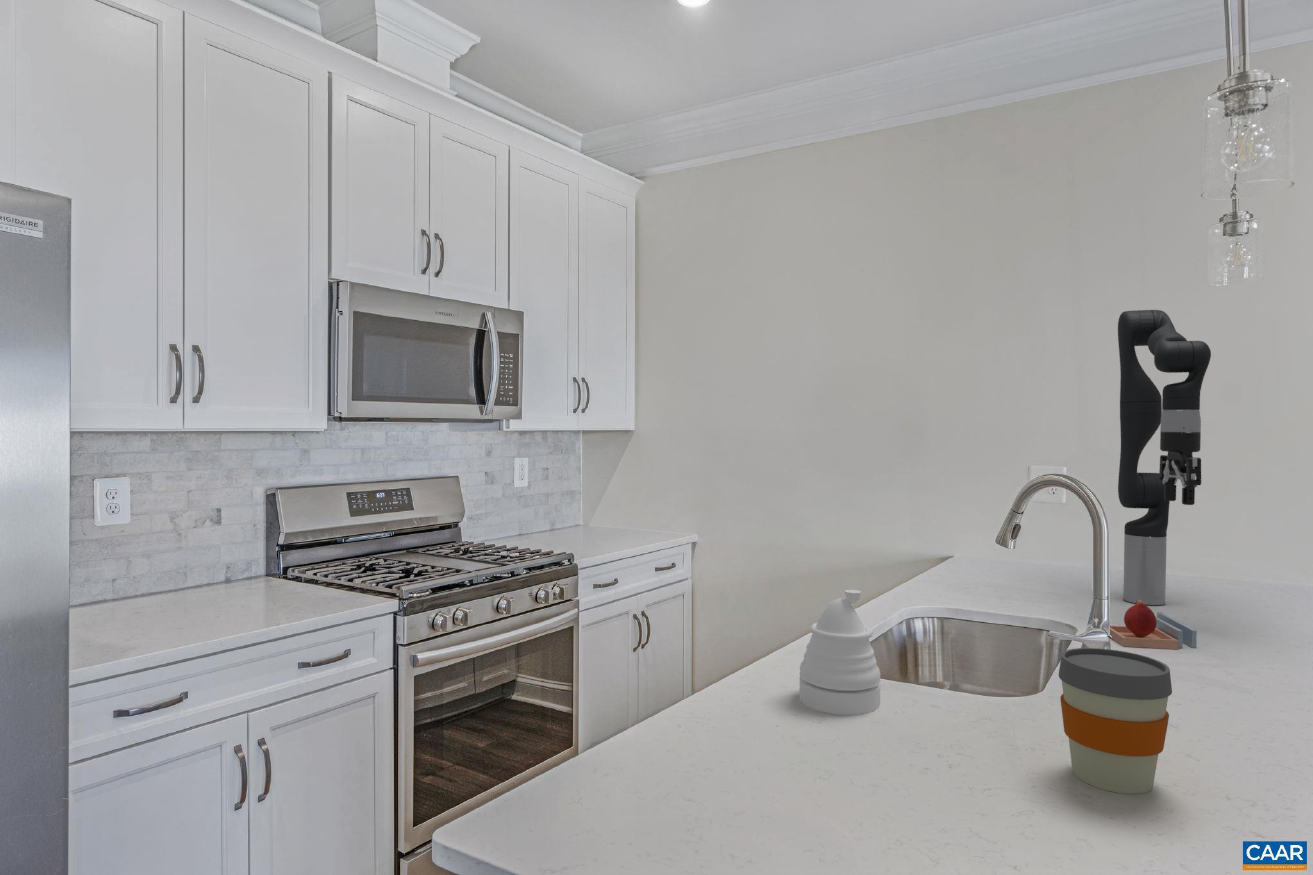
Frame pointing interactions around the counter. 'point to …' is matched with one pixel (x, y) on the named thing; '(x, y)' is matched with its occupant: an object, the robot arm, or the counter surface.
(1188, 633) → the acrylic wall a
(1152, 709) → the reusable coffee cup
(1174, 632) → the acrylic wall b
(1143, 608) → the pomegranate
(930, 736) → the counter surface
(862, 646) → the honey pot
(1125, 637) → the terracotta dish
